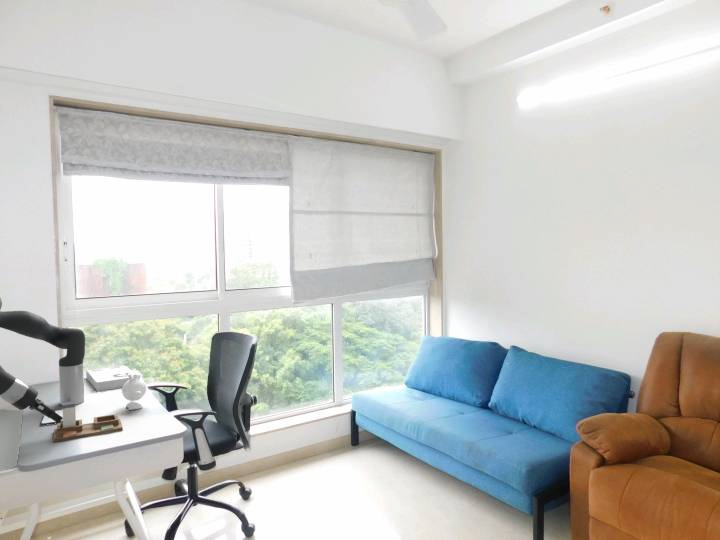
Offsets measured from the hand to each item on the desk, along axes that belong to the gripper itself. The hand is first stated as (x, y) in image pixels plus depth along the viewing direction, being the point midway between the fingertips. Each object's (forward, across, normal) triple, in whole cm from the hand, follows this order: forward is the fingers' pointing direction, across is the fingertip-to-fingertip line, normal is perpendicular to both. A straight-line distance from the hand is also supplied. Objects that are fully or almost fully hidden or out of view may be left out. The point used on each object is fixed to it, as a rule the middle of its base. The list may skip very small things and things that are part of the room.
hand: (56, 417), depth 177 cm
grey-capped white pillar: (+7, -1, -1) cm, 7 cm away
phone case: (+10, -22, 0) cm, 25 cm away
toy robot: (+29, -11, +19) cm, 37 cm away
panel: (+12, +3, +2) cm, 12 cm away
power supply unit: (+39, -64, +28) cm, 80 cm away
